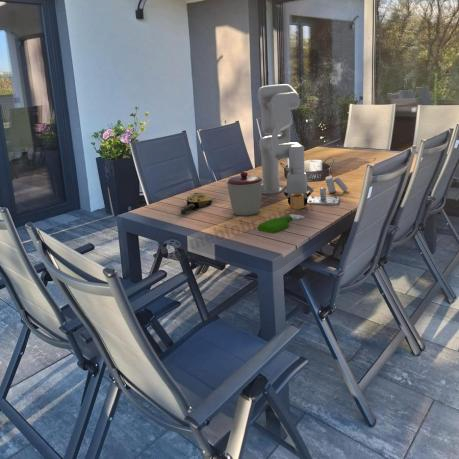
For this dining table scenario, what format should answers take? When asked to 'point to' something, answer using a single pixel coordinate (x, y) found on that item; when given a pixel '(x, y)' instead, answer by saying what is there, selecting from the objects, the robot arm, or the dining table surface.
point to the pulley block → (197, 201)
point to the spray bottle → (277, 223)
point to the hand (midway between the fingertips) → (297, 204)
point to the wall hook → (332, 187)
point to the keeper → (323, 199)
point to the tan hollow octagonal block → (297, 201)
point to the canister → (245, 194)
